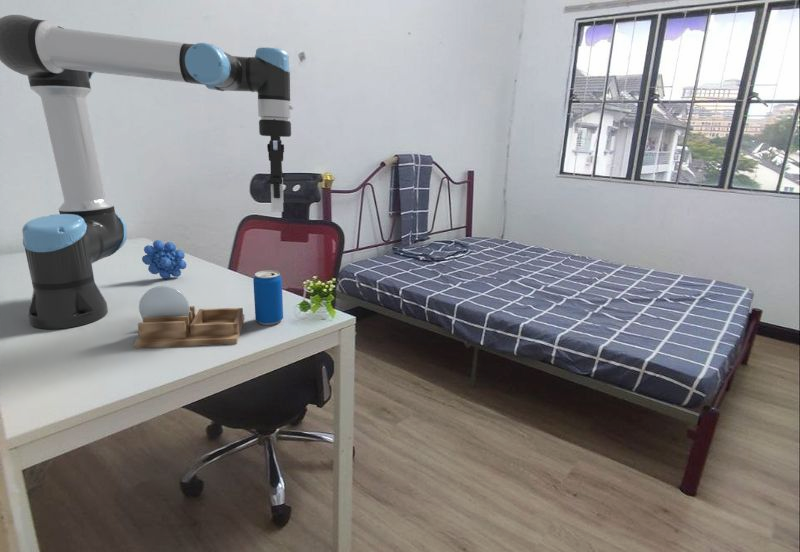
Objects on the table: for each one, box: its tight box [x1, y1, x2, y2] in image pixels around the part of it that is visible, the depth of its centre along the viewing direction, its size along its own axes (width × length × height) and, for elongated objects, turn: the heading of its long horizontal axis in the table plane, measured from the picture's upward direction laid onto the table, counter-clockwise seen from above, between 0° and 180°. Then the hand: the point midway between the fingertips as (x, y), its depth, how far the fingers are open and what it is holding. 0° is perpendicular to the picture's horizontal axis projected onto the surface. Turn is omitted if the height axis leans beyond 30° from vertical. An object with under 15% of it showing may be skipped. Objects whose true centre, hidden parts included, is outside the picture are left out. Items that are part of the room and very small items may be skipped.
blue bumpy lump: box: [141, 239, 188, 280], centre depth 137 cm, size 12×7×12 cm, turn 120°
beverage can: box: [252, 269, 284, 326], centre depth 111 cm, size 6×6×12 cm
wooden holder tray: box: [134, 305, 246, 349], centre depth 104 cm, size 20×14×5 cm
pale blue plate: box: [138, 285, 191, 319], centre depth 101 cm, size 10×1×10 cm, turn 101°
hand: (277, 207), depth 118 cm, fingers open, 13 cm apart
